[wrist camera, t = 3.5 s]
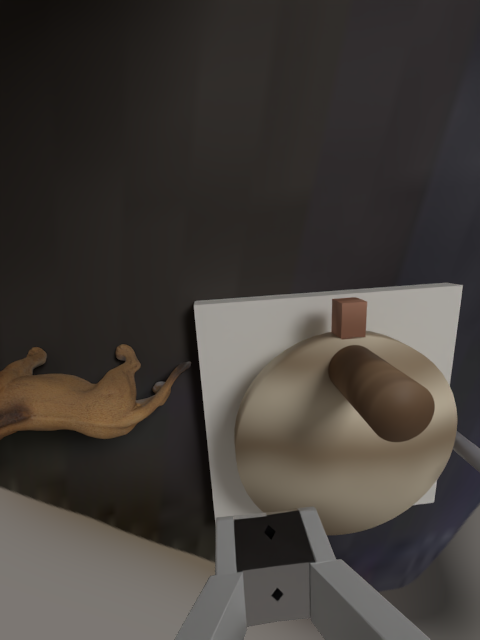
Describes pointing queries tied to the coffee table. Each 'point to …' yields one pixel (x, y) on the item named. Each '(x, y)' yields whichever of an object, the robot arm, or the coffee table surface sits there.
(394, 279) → the coffee table surface
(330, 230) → the coffee table surface
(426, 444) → the beige round knobbed piece
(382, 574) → the coffee table surface
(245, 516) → the robot arm
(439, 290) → the post base
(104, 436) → the lion figurine
